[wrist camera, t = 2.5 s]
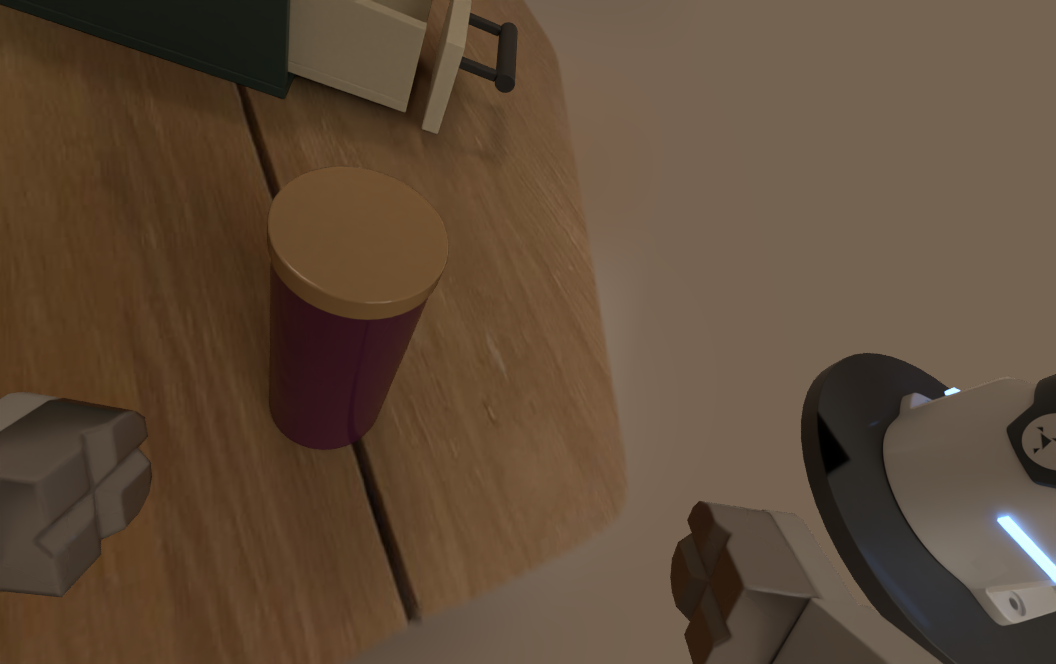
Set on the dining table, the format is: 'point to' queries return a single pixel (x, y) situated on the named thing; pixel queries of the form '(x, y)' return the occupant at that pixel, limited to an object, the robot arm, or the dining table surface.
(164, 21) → the cabinet
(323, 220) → the canister
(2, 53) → the dining table surface
